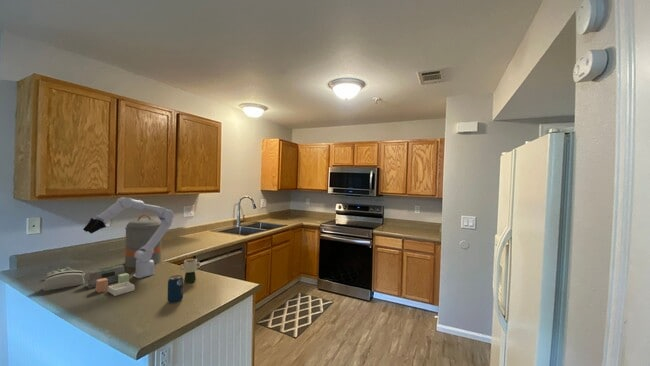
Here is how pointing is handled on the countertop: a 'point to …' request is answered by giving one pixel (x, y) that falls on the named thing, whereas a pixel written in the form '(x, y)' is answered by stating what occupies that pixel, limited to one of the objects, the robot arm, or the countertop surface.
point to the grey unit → (105, 274)
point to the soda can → (175, 289)
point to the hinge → (64, 280)
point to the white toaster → (62, 271)
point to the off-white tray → (121, 288)
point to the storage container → (141, 239)
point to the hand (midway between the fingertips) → (87, 231)
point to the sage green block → (123, 278)
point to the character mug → (190, 269)
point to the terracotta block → (102, 285)
